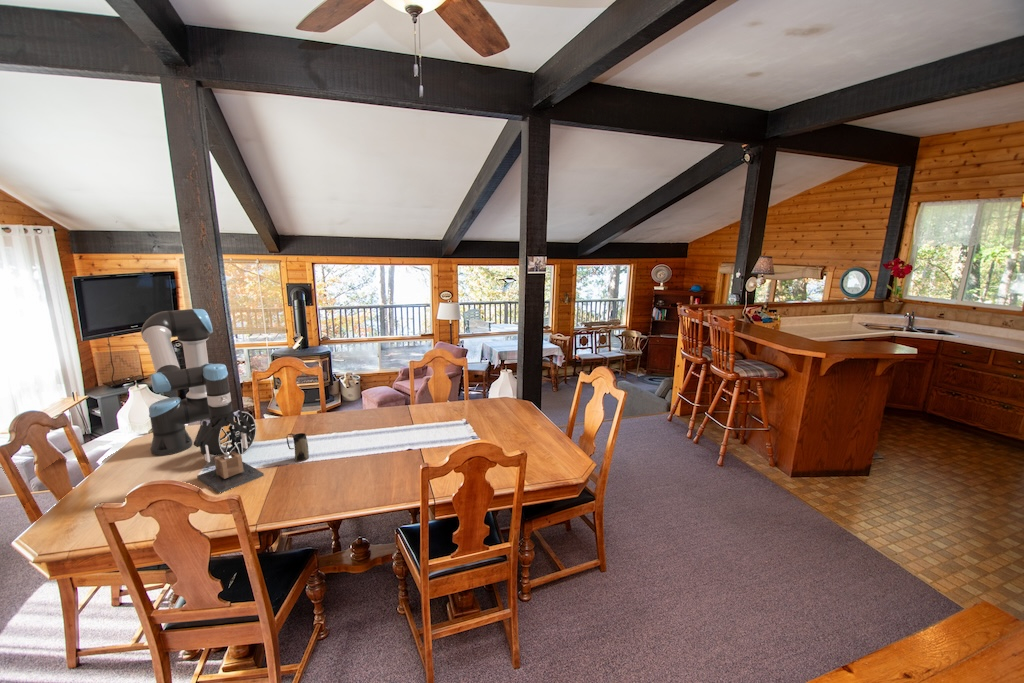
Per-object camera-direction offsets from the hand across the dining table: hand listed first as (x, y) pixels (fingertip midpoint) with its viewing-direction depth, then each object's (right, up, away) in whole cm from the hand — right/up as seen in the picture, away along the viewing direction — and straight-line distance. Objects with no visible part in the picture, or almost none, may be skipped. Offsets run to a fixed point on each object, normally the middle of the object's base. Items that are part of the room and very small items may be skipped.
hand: (227, 454), depth 169 cm
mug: (+21, -7, +17) cm, 27 cm away
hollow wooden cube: (0, -8, +1) cm, 8 cm away
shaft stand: (0, -10, +2) cm, 10 cm away
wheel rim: (-12, -6, +22) cm, 26 cm away
